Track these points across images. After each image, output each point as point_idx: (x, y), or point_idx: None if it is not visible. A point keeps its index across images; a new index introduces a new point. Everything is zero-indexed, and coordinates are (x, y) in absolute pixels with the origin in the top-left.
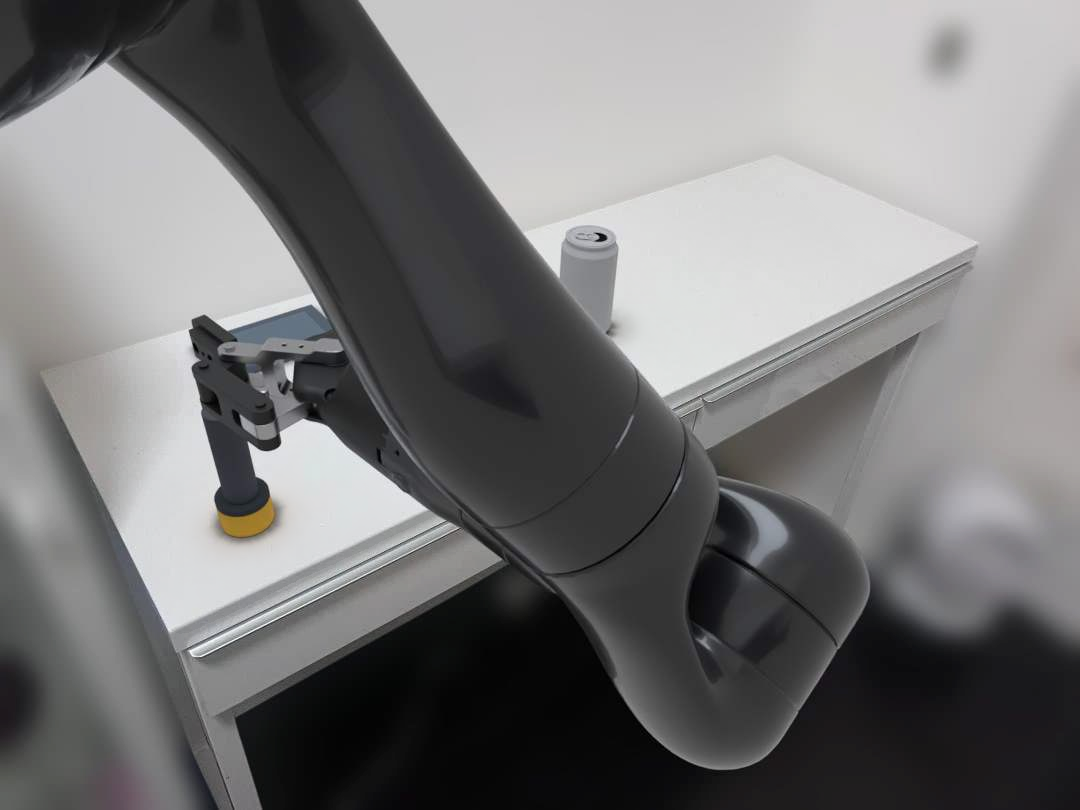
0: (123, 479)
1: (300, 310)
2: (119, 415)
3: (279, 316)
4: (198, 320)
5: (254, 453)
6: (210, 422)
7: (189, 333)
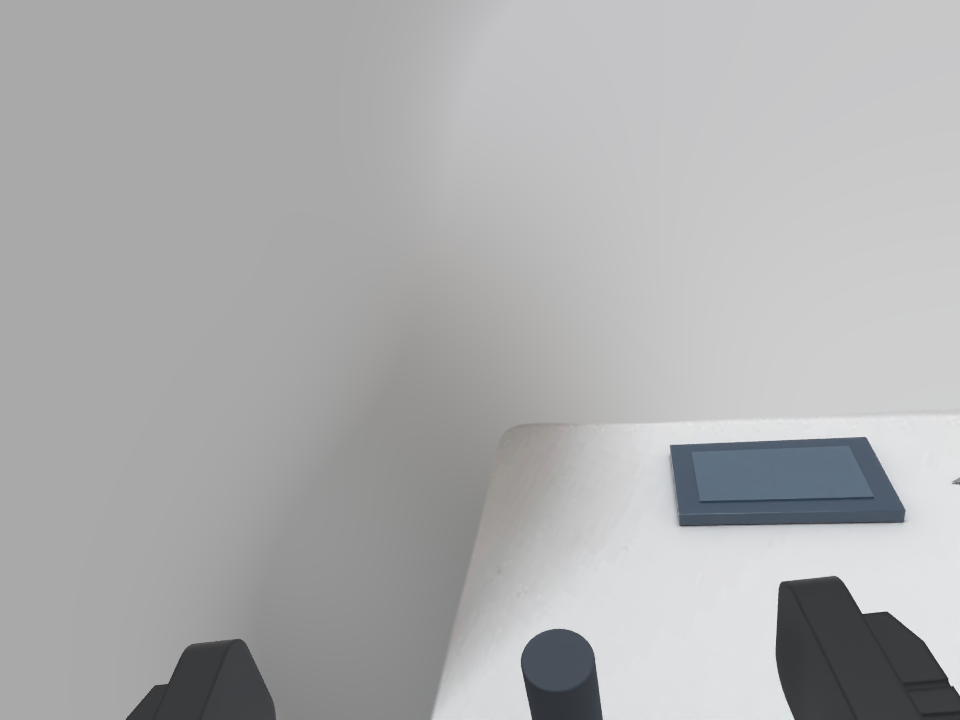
0: (478, 629)
1: (843, 442)
2: (532, 521)
3: (805, 443)
4: (182, 670)
5: (662, 685)
6: (527, 681)
7: (137, 708)
